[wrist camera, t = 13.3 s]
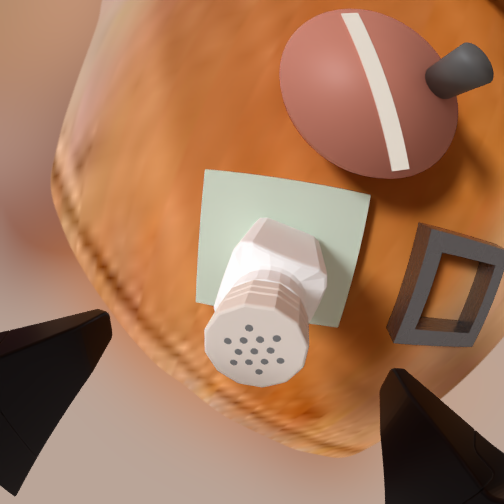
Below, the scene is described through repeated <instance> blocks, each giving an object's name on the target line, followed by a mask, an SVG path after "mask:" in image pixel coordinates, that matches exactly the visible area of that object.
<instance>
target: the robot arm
mask: <svg viewBox="0 0 504 504" xmlns="http://www.w3.org/2000/svg"><path fill="white" fill-rule="evenodd" d="M111 338H112V328H111V322H110V316H109V314H108V313H107V312H106V311H103V310H100V309H96V310H91V311H87V312H83V313H79V314H75V315H72V316H67V317H63V318H59V319H55V320H51V321H47V322H43V323H39V324H34V325H30V326H26V327H22V328H18V329H13V330H10V331H4V332H0V486H2V487H3V488H4V489H5V490H7V491H8V492H9V493H11V494H12V495H14V496H16V495H17V493H18V491H19V490H20V488H21V486H22V484H23V482H24V480H25V478H26V476H27V475H28V473H29V471H30V469H31V467H32V466H33V464H34V462H35V460H36V459H37V457H38V455H39V453H40V452H41V450H42V448H43V447H44V445H45V443H46V441H47V440H48V438H49V437H50V435H51V434H52V432H53V430H54V429H55V427H56V426H57V424H58V423H59V421H60V419H61V418H62V416H63V415H64V413H65V412H66V410H67V409H68V407H69V405H70V404H71V403H72V401H73V400H74V398H75V396H76V395H77V394H78V392H79V391H80V389H81V388H82V386H83V385H84V383H85V382H86V381H87V379H88V378H89V376H90V375H91V373H92V372H93V370H94V368H95V367H96V365H97V363H98V361H99V359H100V358H101V356H102V354H103V352H104V351H105V349H106V347H107V345H108V343H109V342H110V340H111ZM380 435H381V445H382V456H383V467H384V482H385V484H384V485H385V504H504V453H503V452H501V451H500V450H499V449H497V448H496V447H494V446H493V445H492V444H491V443H490V442H488V441H487V440H486V439H485V438H484V437H482V436H481V435H480V434H479V433H478V432H477V431H474V429H473V428H472V427H471V426H470V425H469V424H468V423H466V422H465V421H464V420H463V419H462V418H461V417H460V416H458V415H457V414H456V413H455V412H454V411H453V410H451V409H450V408H449V407H448V406H447V405H445V404H444V403H443V402H442V401H441V400H440V399H439V398H438V397H436V396H435V395H434V394H433V393H432V392H431V391H429V390H428V389H427V388H426V387H425V386H423V385H422V384H421V383H420V382H419V381H418V380H416V379H415V378H414V377H413V376H412V375H411V374H409V373H408V372H407V371H406V370H405V369H400V368H393V369H391V370H390V372H389V373H388V375H387V377H386V379H385V381H384V383H383V384H382V386H381V389H380Z"/></svg>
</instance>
